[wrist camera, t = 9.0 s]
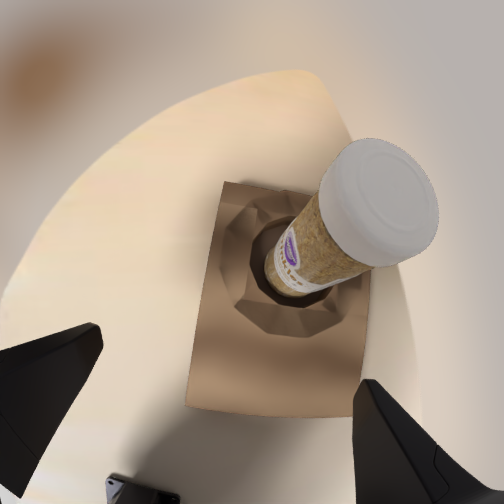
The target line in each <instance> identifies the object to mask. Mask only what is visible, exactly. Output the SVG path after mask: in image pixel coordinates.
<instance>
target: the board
mask: <svg viewBox="0 0 504 504" xmlns="http://www.w3.org/2000/svg"><path fill="white" fill-rule="evenodd" d="M312 197H313V196H309V195H305V194H300V193H296V192H291V191H287V190H284V191H280V192H278V191H273V190H268V189H263V188H258V187H253V186H248V185H242V184H237V183H231V182H226V181H224V185H223V190H222V194H221V199H220V203H219V208H218V213H217V217H216V222H215V227H214V232H213V237H212V242H211V247H210V252H209V257H208V263H207V268H206V273H205V279H204V284H203V290H202V295H201V301H200V307H199V313H198V319H197V325H196V331H195V338H194V344H193V351H192V357H191V364H190V371H189V378H188V386H187V393H186V401H185V406H189V407H194V408H200V409H206V410H213V411H220V412H227V413H236V414H245V415H256V416H270V417H291V418H330V417H352V416H353V398H354V395H355V393H356V391H357V389H358V387H359V382H360V376H361V370H362V363H363V356H364V348H365V340H366V331H367V321H368V309H369V295H370V275H371V269H370V270H368V271H365V272H363V273H361V274H359V275H357V276H355V277H353V278H350V279H348V280H345V281H343V282H340V283H338V284H335V285H332V286H329V287H327V288H324V289H322V290H319V291H316V292H311V293H310V294H307V295H306V296H304V297H301V298H287V297H284V296H282V295H280V294H278V293H277V292H275V291H274V290H273V289H272V288H271V287H270V285H269V284H268V282H267V280H266V278H265V273H264V265H265V259H266V256H267V254H268V252H269V250H270V249H271V248H272V247H274V246H275V245H276V244H277V242H278V240H279V239H280V237H281V236H282V234H283V233H284V232H285V230H286V229H287V228H288V227H289V225H290V224H291V223H292V222H293V220H294V219H295V218H296V217H298V216H299V214H300V213H301V212H302V210H303V209H304V208H305V207H306V205H307V204H308V203H309V201H310V200H311V198H312Z"/></svg>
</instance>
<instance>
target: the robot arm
mask: <svg viewBox="0 0 504 504" xmlns="http://www.w3.org/2000/svg"><path fill="white" fill-rule="evenodd" d="M102 349H103V339H102V334H101V329H100V327H99V326H98V325H96V324H94V323H90V322H89V323H85V324H82V325H79V326H76V327H73V328H70V329H67V330H64V331H61V332H58V333H55V334H51V335H48V336H45V337H42V338H39V339H36V340H33V341H30V342H26V343H23V344H20V345H17V346H14V347H11V348H7V349H4V350H1V351H0V484H2V485H3V486H4V487H5V488H6V489H8V490H9V491H10V492H12V493H13V494H14V495H16V496H17V497H19V498H20V499H21V497H22V496H23V494H24V492H25V490H26V487H27V485H28V483H29V481H30V479H31V477H32V475H33V473H34V471H35V469H36V467H37V465H38V463H39V460H40V459H41V457H42V456H43V454H44V452H45V450H46V448H47V446H48V444H49V443H50V441H51V439H52V437H53V436H54V434H55V432H56V430H57V429H58V427H59V425H60V423H61V422H62V420H63V418H64V417H65V415H66V413H67V412H68V410H69V408H70V407H71V405H72V403H73V402H74V400H75V398H76V397H77V395H78V394H79V392H80V390H81V389H82V387H83V386H84V384H85V382H86V381H87V379H88V377H89V375H90V373H91V371H92V369H93V367H94V365H95V363H96V361H97V359H98V357H99V355H100V353H101V351H102ZM352 443H353V456H354V469H355V487H356V504H504V491H498V490H493V489H490V488H488V487H486V486H485V485H483V484H482V483H481V482H480V481H478V480H477V479H476V478H475V477H473V476H472V475H471V474H469V473H468V472H467V471H466V470H465V469H464V468H462V467H461V466H460V465H459V464H458V463H457V462H456V461H454V460H453V459H452V458H451V457H450V456H449V455H448V454H447V453H446V452H445V451H444V450H443V449H442V448H441V447H440V446H439V445H437V443H436V442H435V441H434V440H433V439H432V438H431V437H430V436H429V435H428V433H427V432H426V431H425V430H424V429H423V428H422V427H421V426H420V425H419V424H418V423H417V422H416V421H415V420H414V419H413V418H412V417H411V416H410V415H409V414H408V413H407V412H406V411H405V410H404V409H403V408H402V407H401V406H400V404H399V403H398V402H397V401H396V400H395V399H394V398H393V397H392V396H391V395H390V394H389V393H388V392H387V391H386V390H385V389H384V388H383V387H382V386H381V385H380V384H379V383H378V382H377V381H376V380H375V379H363V380H362V382H361V383H360V385H359V387H358V389H357V391H356V393H355V395H354V398H353V429H352ZM110 481H112V482H113V483H111V482H110ZM106 494H107V504H180V500H181V498H180V496H179V495H177V494H174V493H169V492H164V491H159V490H155V489H151V488H147V487H144V486H140V485H136V484H133V483H129V482H126V481H123V480H119V479H116V478H113V477H108V478H107V479H106ZM172 498H176V500H174V499H172ZM0 504H2V503H1V499H0Z"/></svg>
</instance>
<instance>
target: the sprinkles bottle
mask: <svg viewBox="0 0 504 504" xmlns="http://www.w3.org/2000/svg"><path fill="white" fill-rule="evenodd" d="M438 219H439V211H438V203H437V198H436V195H435V192H434V189H433V187H432V185H431V183H430V181H429V179H428V177H427V175H426V174H425V172H424V171H423V169H422V168H421V167H420V165H419V164H418V163H417V162H416V161H415V160H414V159H413V158H412V157H411V156H410V155H409V154H407V153H406V152H405V151H403V150H402V149H400V148H399V147H397V146H396V145H394V144H391V143H389V142H387V141H384V140H380V139H373V138H366V139H361V140H357V141H354V142H352V143H350V144H349V145H348V146H346V147H345V148H344V149H343V150H342V151H341V153H340V154H339V155H338V156H337V158H336V159H335V160H334V161H333V163H332V164H331V165H330V167H329V168H328V169H327V171H326V172H325V174H324V176H323V178H322V180H321V183H320V187H319V190H318V191H317V193H316V194H315V195H314V196H313V197H312V198H311V200H310V201H309V203H308V204H307V205H306V207H305V208H304V209H303V210H302V212H301V213H300V214H299V216H298V217H296V218H295V219H294V220H293V222H292V223H291V224H290V225H289V227H288V228H287V229H286V230H285V232H284V233H283V234H282V236H281V237H280V239H279V240H278V242H277V244H276V245H275V246H274V247H272V248H271V249H270V250H269V252H268V254H267V256H266V259H265V265H264V273H265V278H266V280H267V282H268V284H269V285H270V287H271V288H272V289H273V290H274V291H275V292H277V293H278V294H280V295H282V296H284V297H287V298H301V297H304V296H306V295H307V294H310V293H311V292H316V291H319V290H322V289H324V288H327V287H329V286H332V285H335V284H338V283H340V282H343V281H345V280H348V279H350V278H353V277H355V276H357V275H359V274H361V273H363V272H365V271H368V270H370V269H373V268H375V267H387V266H391V265H395V264H397V263H400V262H402V261H404V260H406V259H409V258H411V257H413V256H415V255H417V254H419V253H421V252H422V251H423V250H425V249H426V248H427V247H428V246H429V245H430V243H431V242H432V240H433V239H434V236H435V234H436V231H437V227H438Z"/></svg>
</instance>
